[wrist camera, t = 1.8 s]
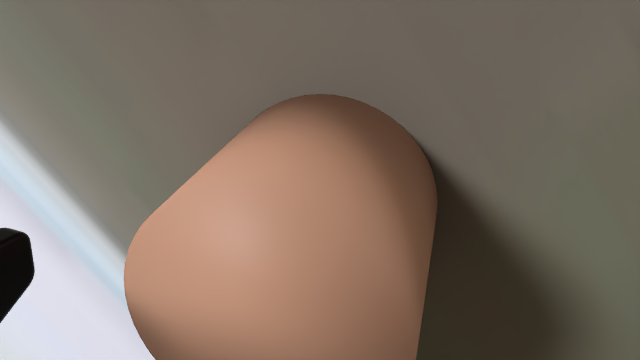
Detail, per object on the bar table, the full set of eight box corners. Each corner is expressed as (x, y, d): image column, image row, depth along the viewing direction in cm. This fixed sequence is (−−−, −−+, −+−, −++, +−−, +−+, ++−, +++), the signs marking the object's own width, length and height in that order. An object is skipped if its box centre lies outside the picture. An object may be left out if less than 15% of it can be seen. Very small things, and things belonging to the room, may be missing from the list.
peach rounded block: (484, 223, 12) (485, 374, 8) (322, 314, 14) (263, 465, 10) (337, 46, 11) (261, 120, 7) (190, 174, 13) (72, 282, 10)
